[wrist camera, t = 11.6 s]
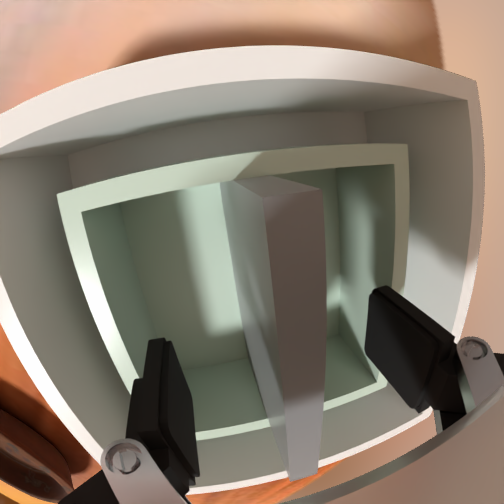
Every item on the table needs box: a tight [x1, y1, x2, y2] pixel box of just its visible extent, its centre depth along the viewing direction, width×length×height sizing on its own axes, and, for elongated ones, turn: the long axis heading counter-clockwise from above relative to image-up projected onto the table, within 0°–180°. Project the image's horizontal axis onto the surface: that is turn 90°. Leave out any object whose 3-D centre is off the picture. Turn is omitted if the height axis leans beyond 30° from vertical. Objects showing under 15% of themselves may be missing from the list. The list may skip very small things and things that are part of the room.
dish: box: [0, 409, 74, 503], centre depth 17 cm, size 18×22×5 cm
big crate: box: [0, 45, 485, 495], centre depth 13 cm, size 19×19×9 cm
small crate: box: [57, 143, 410, 482], centre depth 12 cm, size 13×13×10 cm
